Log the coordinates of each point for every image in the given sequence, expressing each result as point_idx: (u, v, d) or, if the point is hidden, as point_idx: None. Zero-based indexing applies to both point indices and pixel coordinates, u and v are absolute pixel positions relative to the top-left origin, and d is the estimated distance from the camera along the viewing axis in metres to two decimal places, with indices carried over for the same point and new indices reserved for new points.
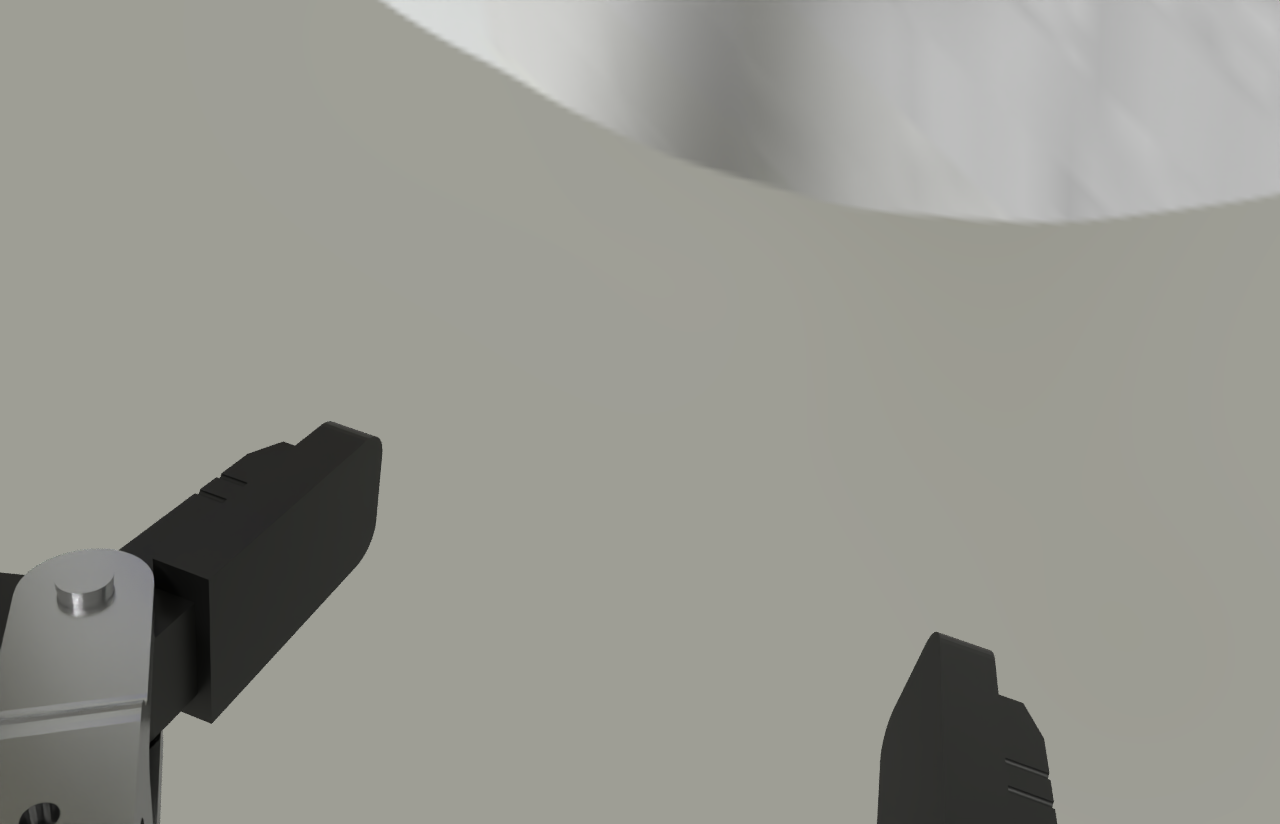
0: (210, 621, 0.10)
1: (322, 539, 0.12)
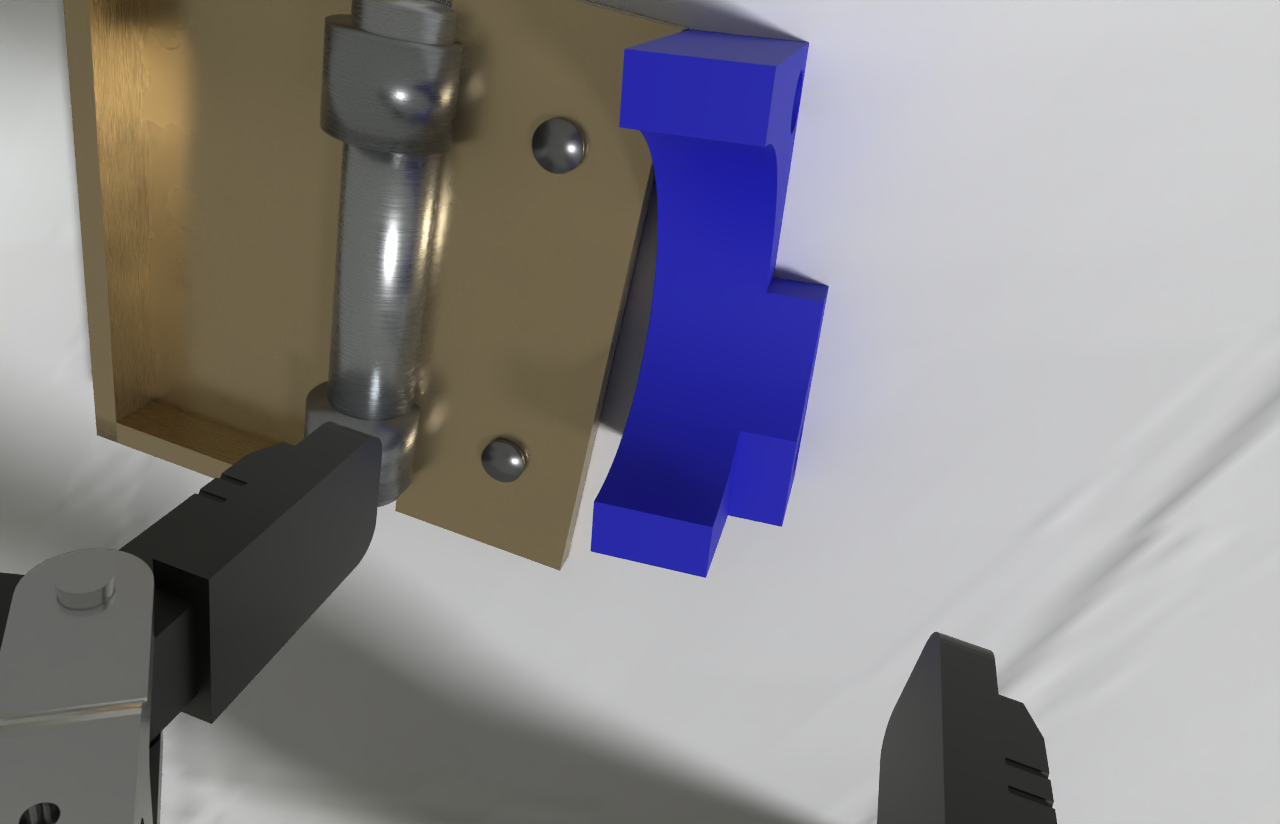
0: (210, 621, 0.10)
1: (322, 539, 0.12)
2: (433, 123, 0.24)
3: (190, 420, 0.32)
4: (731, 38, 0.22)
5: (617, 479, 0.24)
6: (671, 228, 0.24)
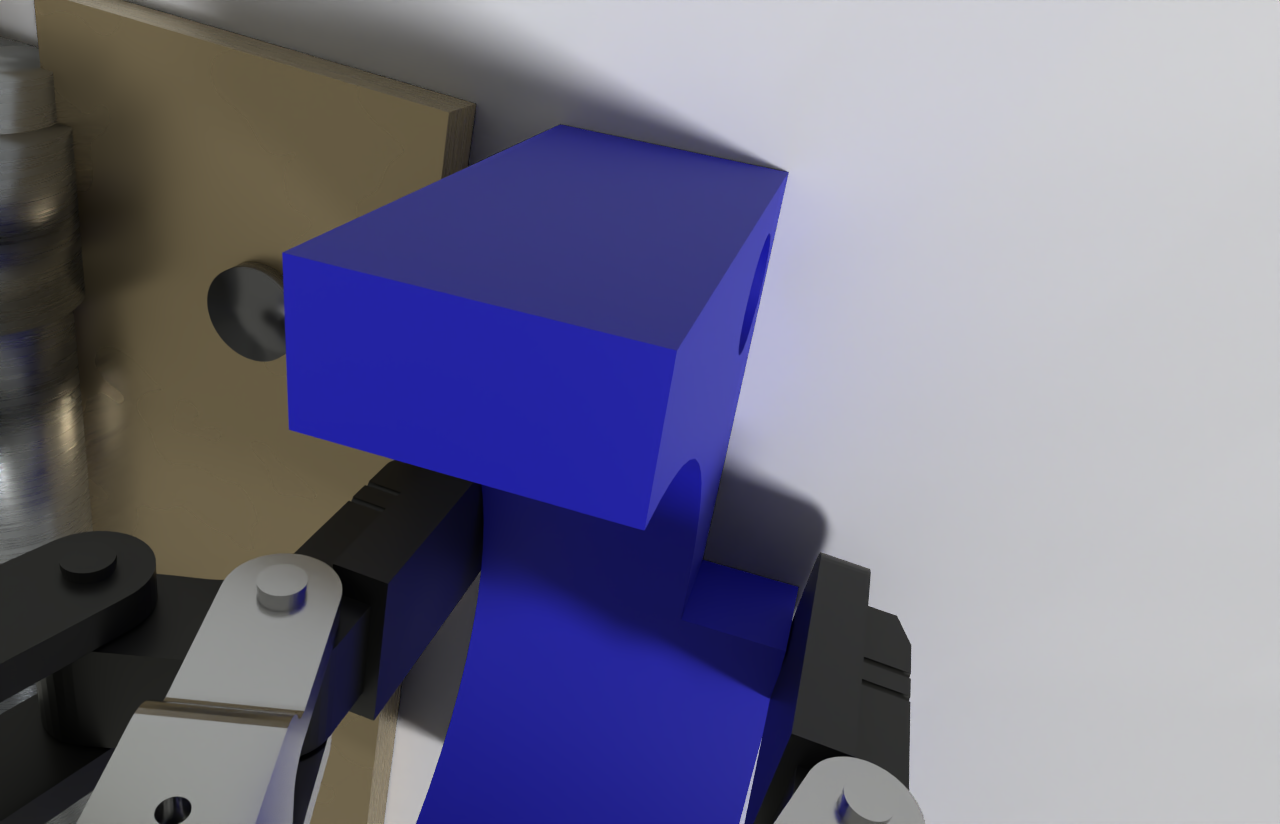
0: (383, 623, 0.11)
1: (462, 544, 0.13)
2: (1, 281, 0.13)
3: None
4: (626, 164, 0.11)
5: None
6: (507, 496, 0.13)
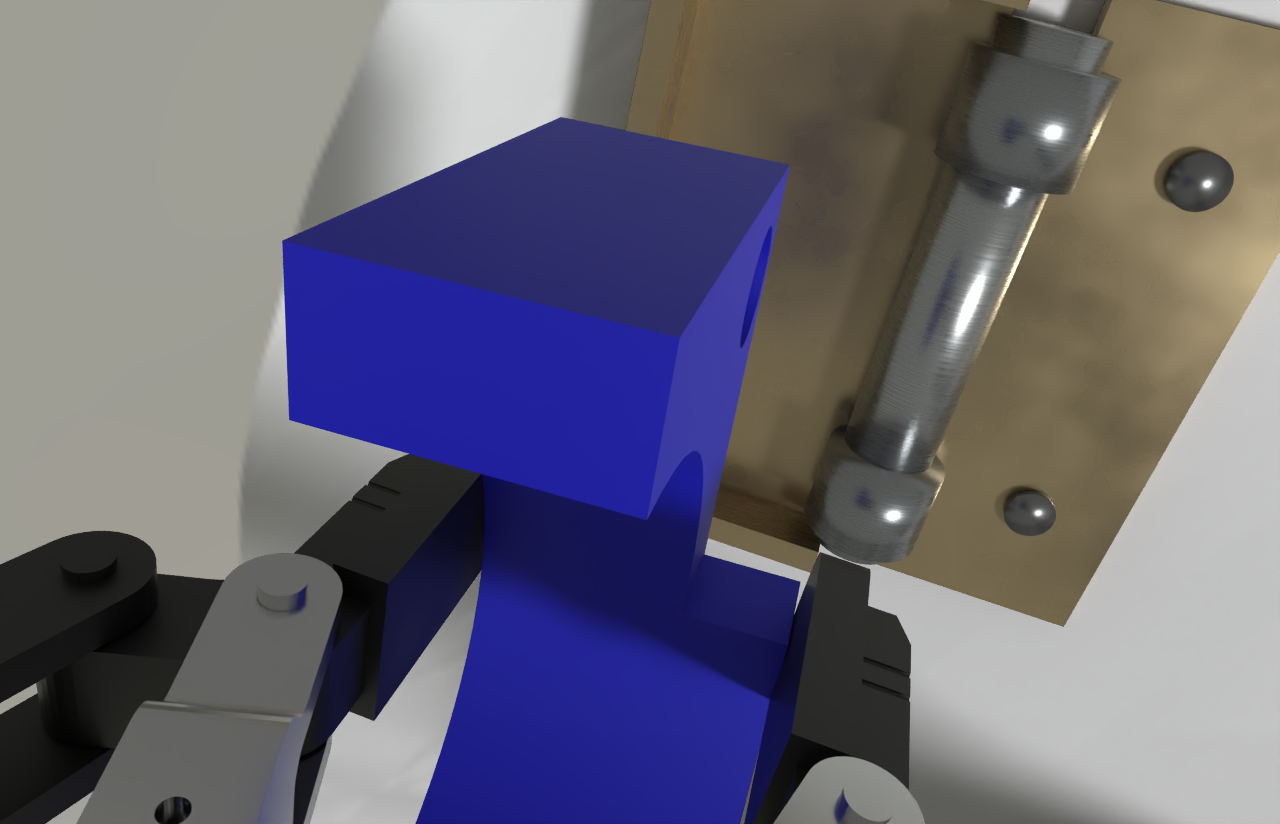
0: (383, 623, 0.11)
1: (463, 544, 0.13)
2: (1085, 160, 0.22)
3: None
4: (627, 156, 0.11)
5: None
6: (508, 491, 0.13)
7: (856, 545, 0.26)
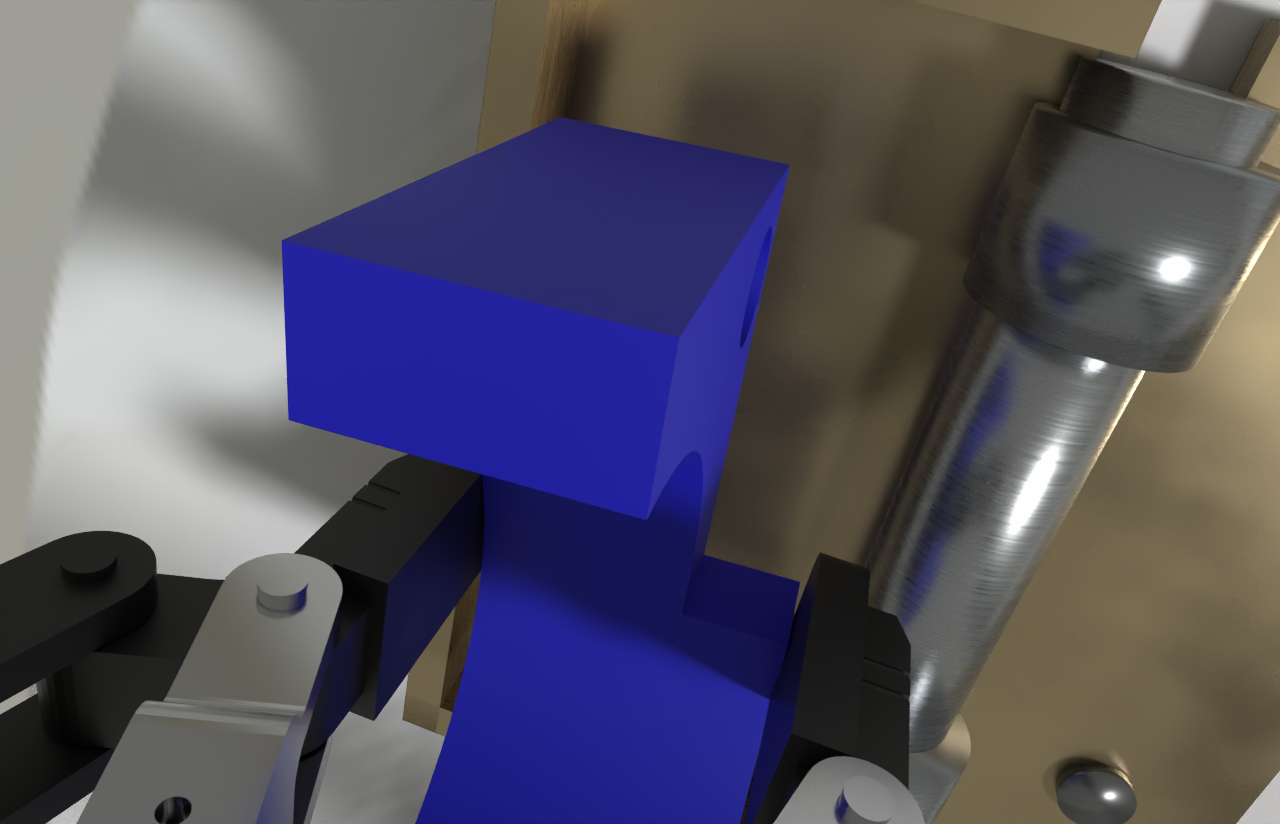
0: (383, 623, 0.11)
1: (463, 544, 0.13)
2: (1226, 312, 0.13)
3: None
4: (627, 156, 0.11)
5: None
6: (508, 491, 0.13)
7: None
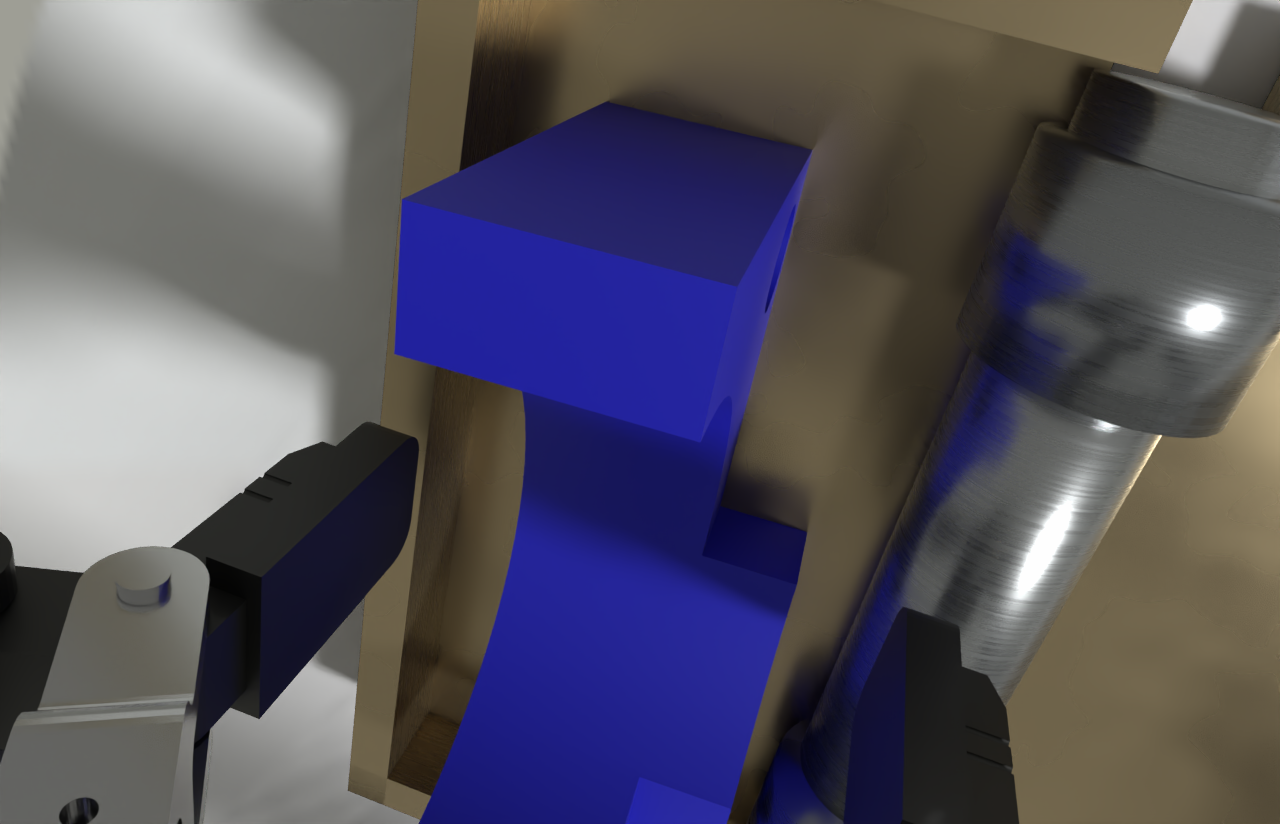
0: (260, 618, 0.10)
1: (362, 538, 0.12)
2: (1261, 366, 0.11)
3: None
4: (670, 138, 0.12)
5: None
6: (548, 440, 0.14)
7: None
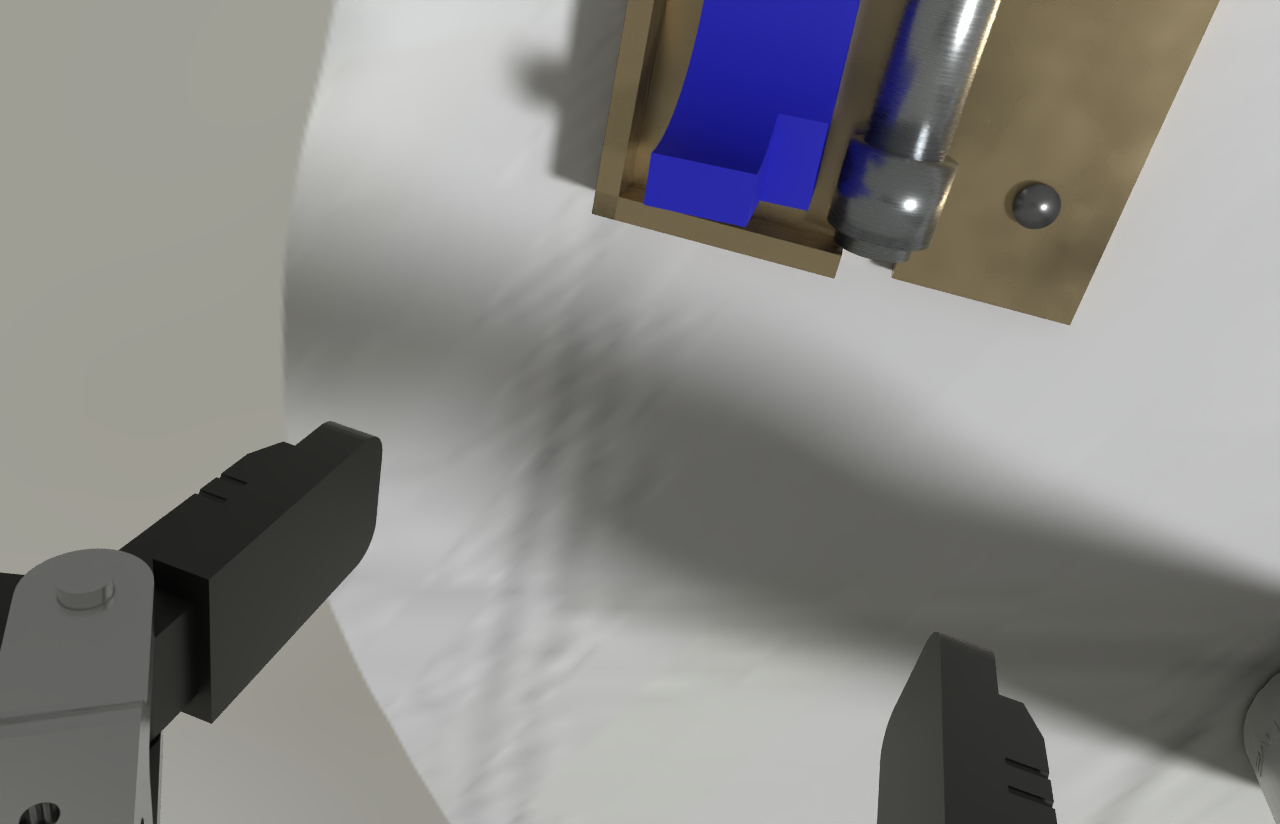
0: (210, 621, 0.10)
1: (322, 539, 0.12)
2: None
3: None
4: None
5: (670, 143, 0.27)
6: None
7: (878, 232, 0.29)
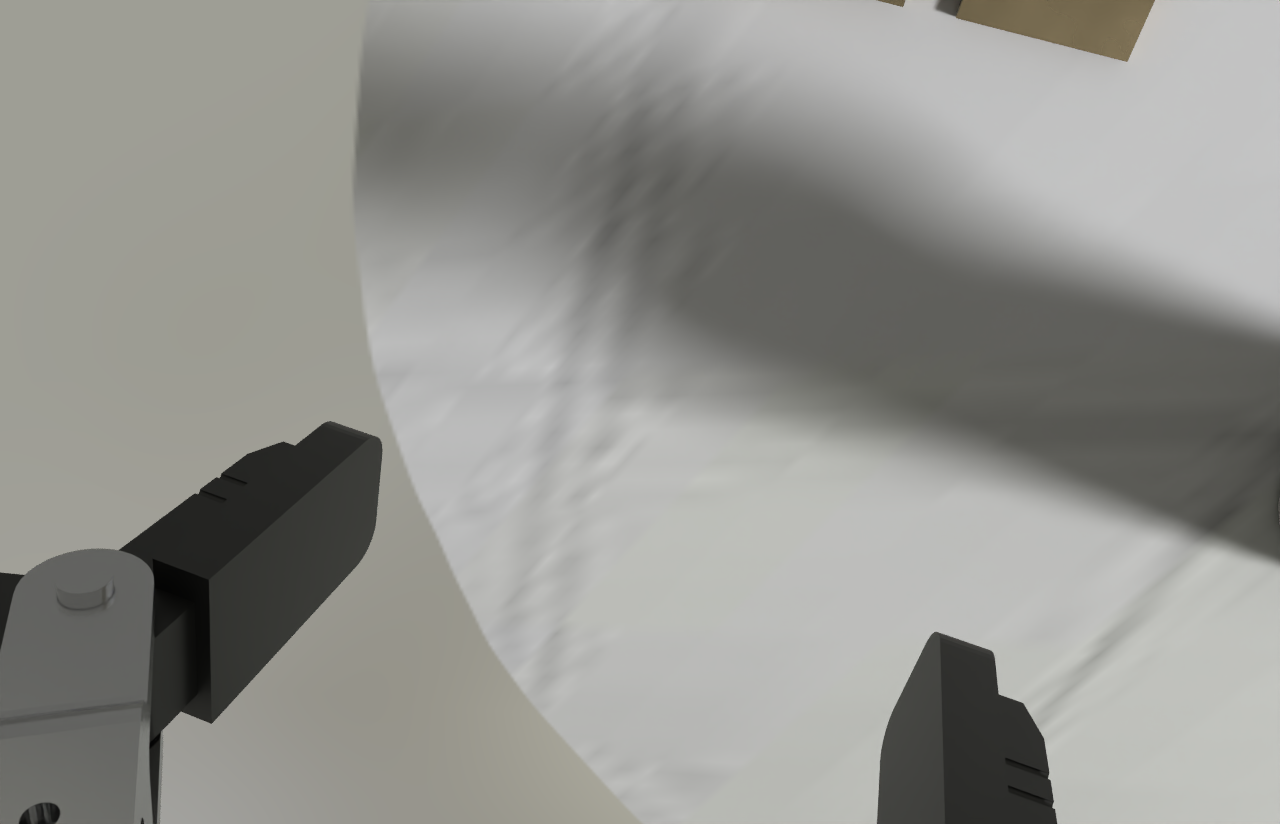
0: (210, 621, 0.10)
1: (322, 539, 0.12)
2: None
3: None
4: None
5: None
6: None
7: None
